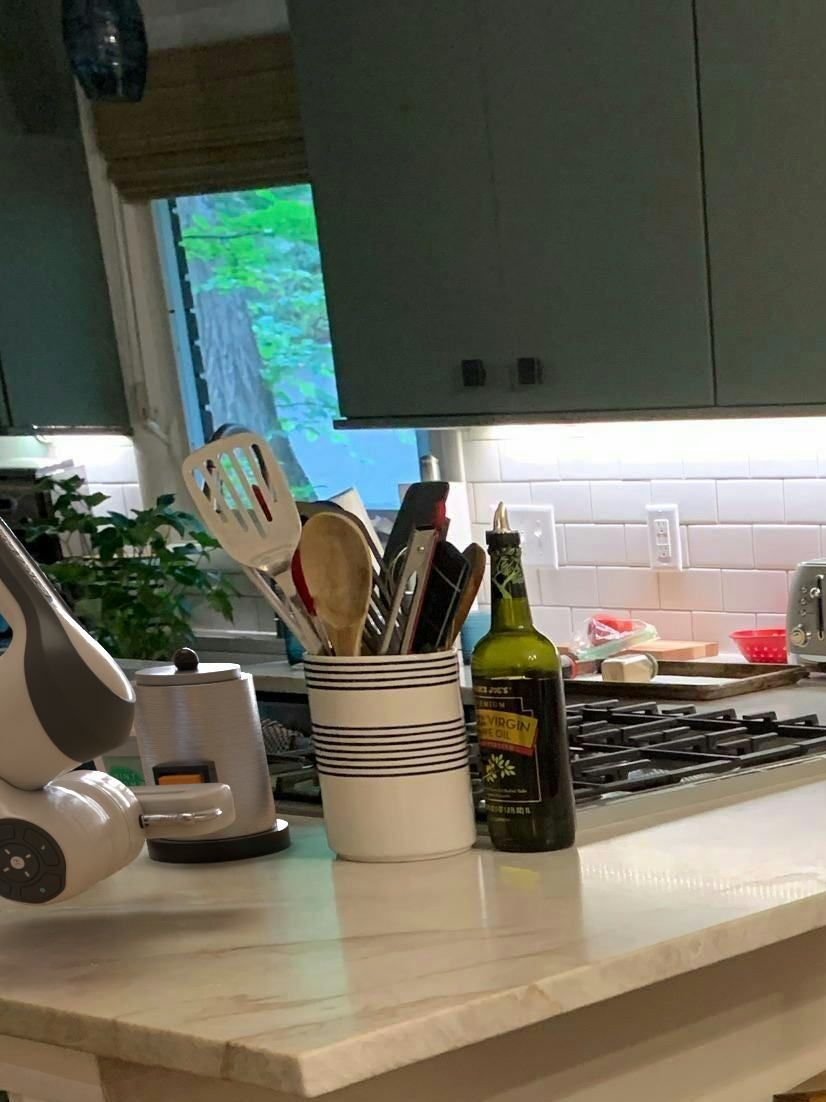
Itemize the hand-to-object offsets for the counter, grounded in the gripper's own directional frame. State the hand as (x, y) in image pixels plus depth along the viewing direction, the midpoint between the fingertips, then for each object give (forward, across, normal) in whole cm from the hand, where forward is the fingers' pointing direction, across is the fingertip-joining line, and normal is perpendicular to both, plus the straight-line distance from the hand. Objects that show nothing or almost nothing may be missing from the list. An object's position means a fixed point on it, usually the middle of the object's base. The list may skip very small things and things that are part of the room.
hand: (140, 797), depth 178 cm
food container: (+37, +12, +9) cm, 40 cm away
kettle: (+21, 0, +9) cm, 22 cm away
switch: (+12, 0, +4) cm, 13 cm away
